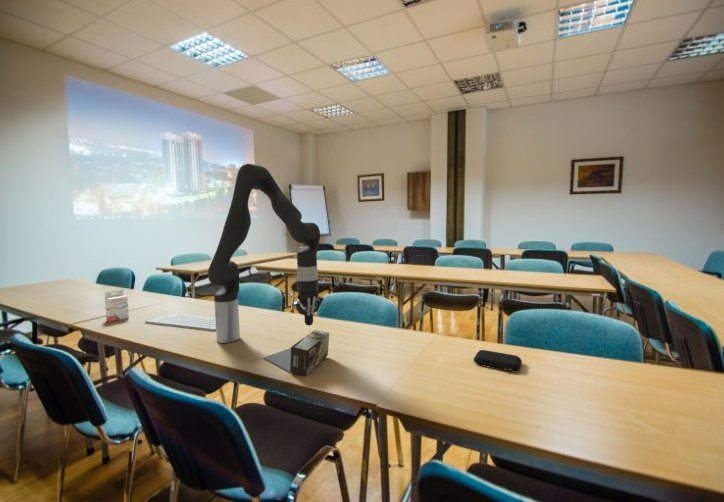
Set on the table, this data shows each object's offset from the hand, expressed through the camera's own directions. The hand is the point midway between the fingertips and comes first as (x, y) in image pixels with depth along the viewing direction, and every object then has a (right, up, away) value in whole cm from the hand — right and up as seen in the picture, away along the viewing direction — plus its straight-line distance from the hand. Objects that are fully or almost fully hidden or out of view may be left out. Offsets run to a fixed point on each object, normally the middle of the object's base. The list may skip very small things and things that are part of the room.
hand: (309, 324), depth 124 cm
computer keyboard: (-65, -9, +45) cm, 80 cm away
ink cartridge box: (-107, -8, +51) cm, 119 cm away
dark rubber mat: (-6, -12, -2) cm, 14 cm away
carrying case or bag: (+66, -12, -8) cm, 67 cm away
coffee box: (+4, -7, +1) cm, 8 cm away
